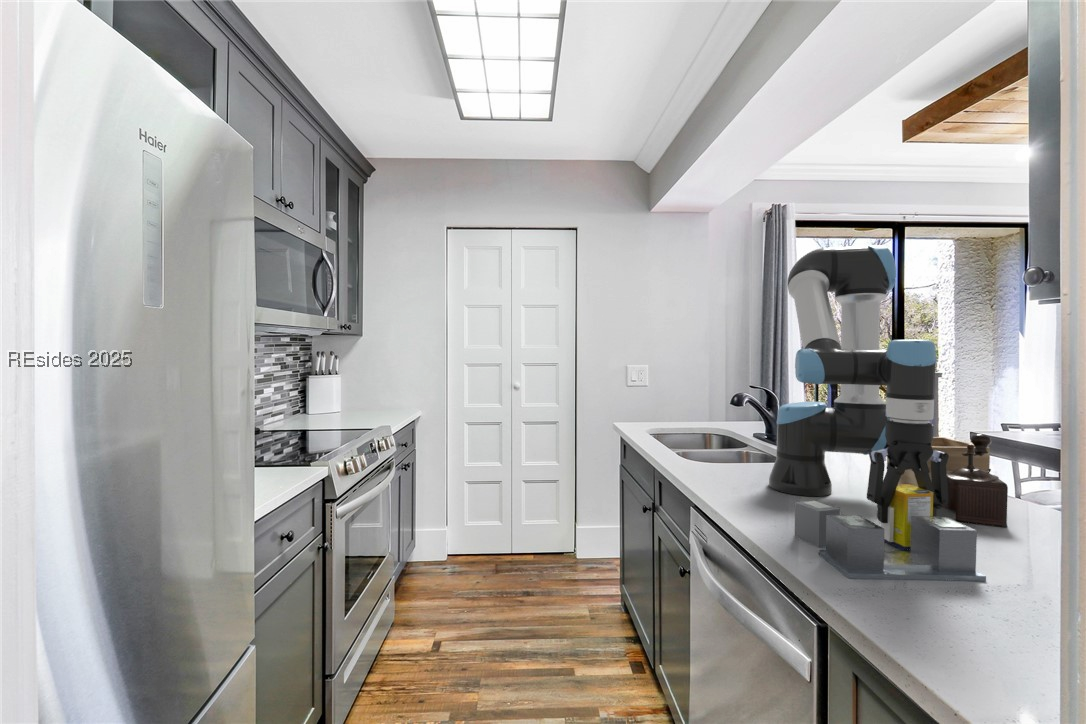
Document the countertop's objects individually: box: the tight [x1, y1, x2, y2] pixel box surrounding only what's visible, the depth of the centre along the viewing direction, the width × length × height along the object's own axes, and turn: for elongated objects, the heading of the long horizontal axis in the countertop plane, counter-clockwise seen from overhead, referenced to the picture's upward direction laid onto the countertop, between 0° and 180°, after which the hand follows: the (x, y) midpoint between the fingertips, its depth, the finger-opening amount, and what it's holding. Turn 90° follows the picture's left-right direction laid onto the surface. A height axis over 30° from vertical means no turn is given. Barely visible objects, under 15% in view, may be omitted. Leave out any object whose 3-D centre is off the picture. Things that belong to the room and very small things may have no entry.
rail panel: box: [818, 514, 987, 582], centre depth 90 cm, size 10×22×8 cm, turn 88°
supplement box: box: [884, 484, 933, 551], centre depth 100 cm, size 6×6×11 cm
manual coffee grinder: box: [941, 433, 1009, 529], centre depth 119 cm, size 16×11×18 cm
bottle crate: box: [886, 436, 991, 488], centre depth 134 cm, size 15×15×14 cm
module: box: [794, 499, 841, 548], centre depth 102 cm, size 6×5×7 cm
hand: (905, 539), depth 100 cm, fingers closed on supplement box, 6 cm apart
